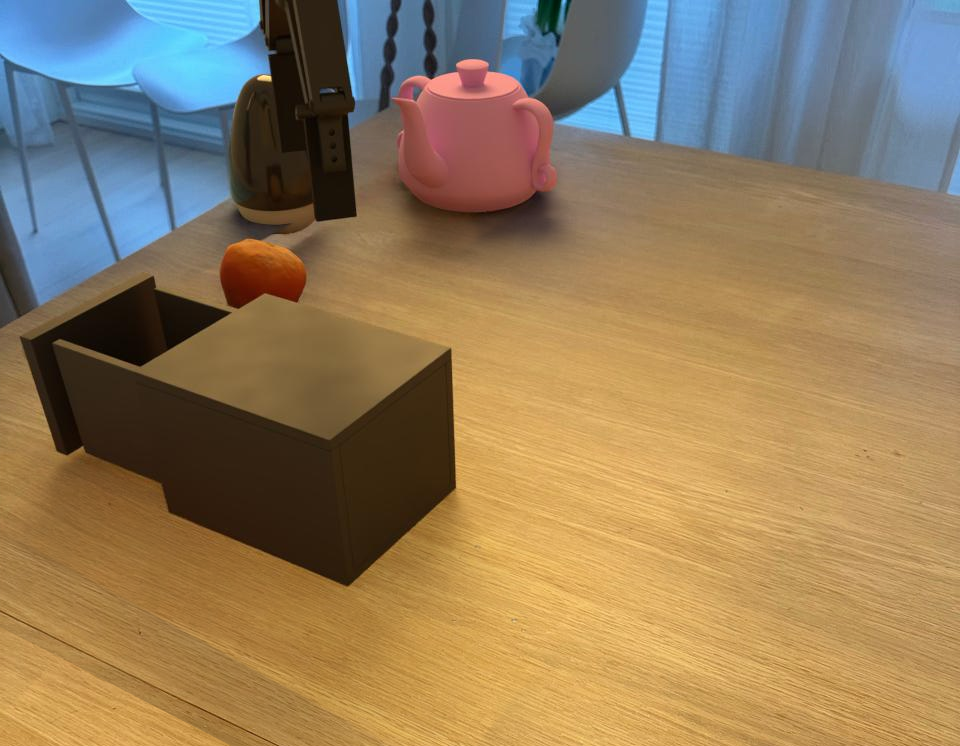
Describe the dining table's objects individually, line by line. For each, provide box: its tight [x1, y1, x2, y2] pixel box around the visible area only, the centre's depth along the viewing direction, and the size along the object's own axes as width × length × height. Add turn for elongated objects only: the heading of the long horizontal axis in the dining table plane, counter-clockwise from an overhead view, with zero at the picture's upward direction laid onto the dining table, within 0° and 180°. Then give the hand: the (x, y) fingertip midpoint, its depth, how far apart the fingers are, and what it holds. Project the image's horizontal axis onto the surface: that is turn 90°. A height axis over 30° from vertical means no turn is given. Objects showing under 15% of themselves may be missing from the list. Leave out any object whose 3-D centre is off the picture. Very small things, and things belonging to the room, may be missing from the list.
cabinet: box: [133, 294, 457, 587], centre depth 77 cm, size 17×14×12 cm
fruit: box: [219, 238, 307, 309], centre depth 102 cm, size 8×8×8 cm
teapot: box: [390, 58, 558, 213], centre depth 119 cm, size 22×22×14 cm
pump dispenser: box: [228, 73, 316, 235], centre depth 114 cm, size 10×10×15 cm
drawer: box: [19, 272, 238, 484], centre depth 83 cm, size 20×12×10 cm, turn 58°
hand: (316, 181), depth 77 cm, fingers open, 13 cm apart
